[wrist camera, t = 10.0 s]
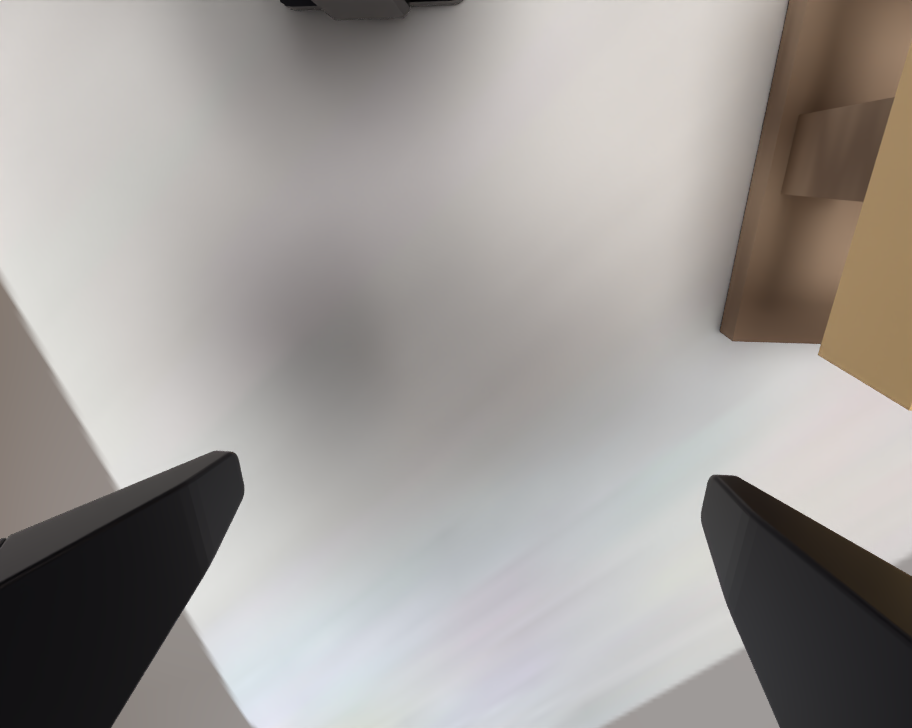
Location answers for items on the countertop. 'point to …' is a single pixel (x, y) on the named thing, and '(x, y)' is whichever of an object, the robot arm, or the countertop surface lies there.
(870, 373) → the wooden c-shaped bracket
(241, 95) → the countertop surface
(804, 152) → the display stand
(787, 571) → the robot arm
